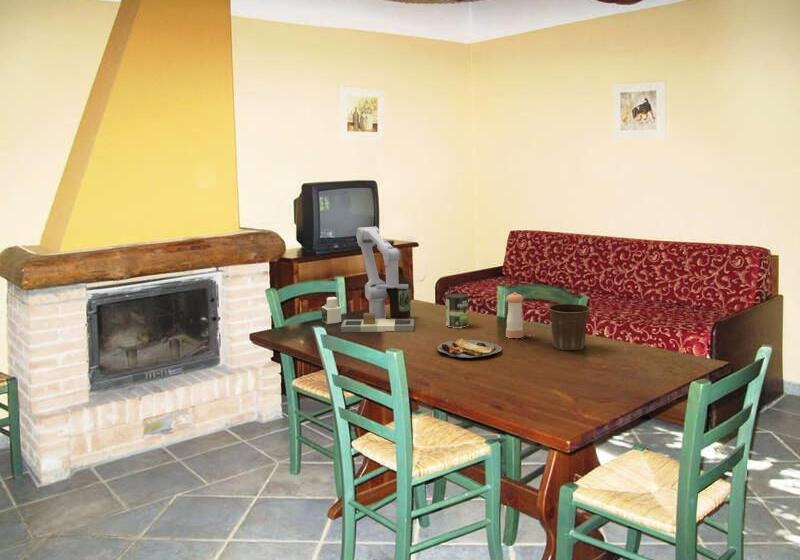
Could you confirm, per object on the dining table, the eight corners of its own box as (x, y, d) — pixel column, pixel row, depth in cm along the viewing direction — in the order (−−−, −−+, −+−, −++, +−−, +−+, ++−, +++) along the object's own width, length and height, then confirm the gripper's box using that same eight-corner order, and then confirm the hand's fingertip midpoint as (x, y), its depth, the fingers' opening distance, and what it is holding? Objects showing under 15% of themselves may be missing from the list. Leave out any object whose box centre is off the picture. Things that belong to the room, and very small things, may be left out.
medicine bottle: (322, 321, 354) (321, 296, 352) (336, 319, 357) (335, 294, 355) (327, 324, 348) (326, 298, 346) (341, 322, 351) (340, 297, 349)
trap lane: (344, 325, 346) (344, 319, 345) (413, 324, 345) (413, 318, 344) (341, 332, 332) (341, 326, 331) (413, 331, 331) (413, 325, 331)
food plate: (424, 352, 296) (424, 343, 295) (463, 341, 312) (463, 333, 311) (473, 365, 278) (473, 356, 278) (512, 353, 294) (512, 345, 294)
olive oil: (384, 318, 358) (383, 266, 354) (402, 315, 364) (401, 264, 360) (397, 322, 350) (396, 268, 345) (415, 318, 356) (415, 266, 351)
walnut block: (364, 321, 340) (363, 312, 340) (375, 321, 340) (375, 312, 340) (363, 324, 335) (363, 315, 335) (374, 323, 335) (374, 315, 335)
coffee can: (473, 326, 339) (473, 295, 336) (456, 329, 332) (456, 298, 330) (457, 322, 346) (457, 292, 344) (440, 326, 340) (440, 295, 338)
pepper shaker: (525, 336, 318) (526, 291, 315) (519, 339, 312) (519, 294, 309) (509, 334, 322) (510, 290, 319) (503, 338, 316) (503, 293, 313)
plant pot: (583, 354, 288) (583, 313, 285) (542, 350, 296) (542, 309, 293) (594, 344, 302) (595, 305, 299) (554, 340, 310) (555, 302, 307)
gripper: (375, 276, 336) (376, 306, 339) (408, 276, 336) (408, 306, 338) (376, 274, 343) (377, 303, 346) (408, 273, 343) (408, 303, 345)
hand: (392, 304), depth 342 cm, fingers closed
